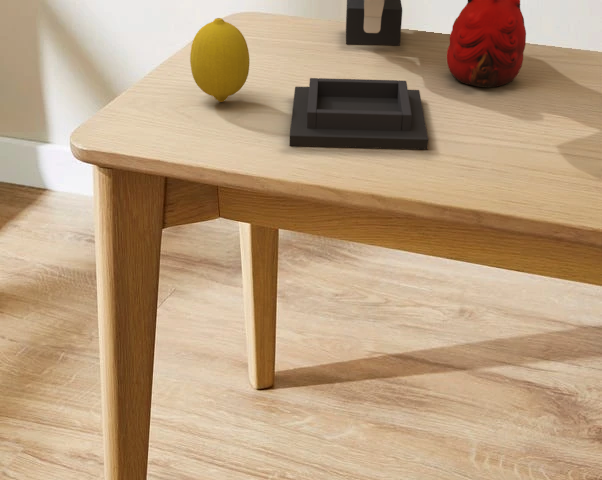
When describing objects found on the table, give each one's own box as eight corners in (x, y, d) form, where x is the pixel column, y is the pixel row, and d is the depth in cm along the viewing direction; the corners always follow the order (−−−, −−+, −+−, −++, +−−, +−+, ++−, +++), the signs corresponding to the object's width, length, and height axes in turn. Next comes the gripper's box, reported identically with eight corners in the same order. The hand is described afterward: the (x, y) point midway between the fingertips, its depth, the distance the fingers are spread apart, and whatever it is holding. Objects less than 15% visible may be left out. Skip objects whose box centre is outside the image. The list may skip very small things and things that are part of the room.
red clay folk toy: (517, 70, 102) (538, -81, 94) (523, 94, 96) (546, -65, 88) (444, 66, 103) (458, -84, 95) (445, 90, 97) (461, -68, 89)
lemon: (224, 87, 97) (221, 6, 92) (262, 102, 93) (261, 19, 89) (180, 100, 94) (175, 17, 89) (217, 117, 90) (214, 31, 86)
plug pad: (397, 30, 113) (399, -5, 111) (399, 45, 108) (402, 9, 106) (345, 29, 113) (347, -6, 111) (345, 44, 109) (347, 8, 106)
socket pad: (418, 99, 95) (420, 74, 93) (427, 150, 85) (430, 122, 83) (295, 96, 95) (295, 71, 94) (289, 146, 85) (289, 119, 84)
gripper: (415, -93, 93) (403, 48, 101) (402, -130, 110) (393, -6, 118) (349, -95, 93) (342, 47, 101) (347, -132, 111) (341, -8, 118)
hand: (370, 18), depth 110 cm, fingers open, 8 cm apart
